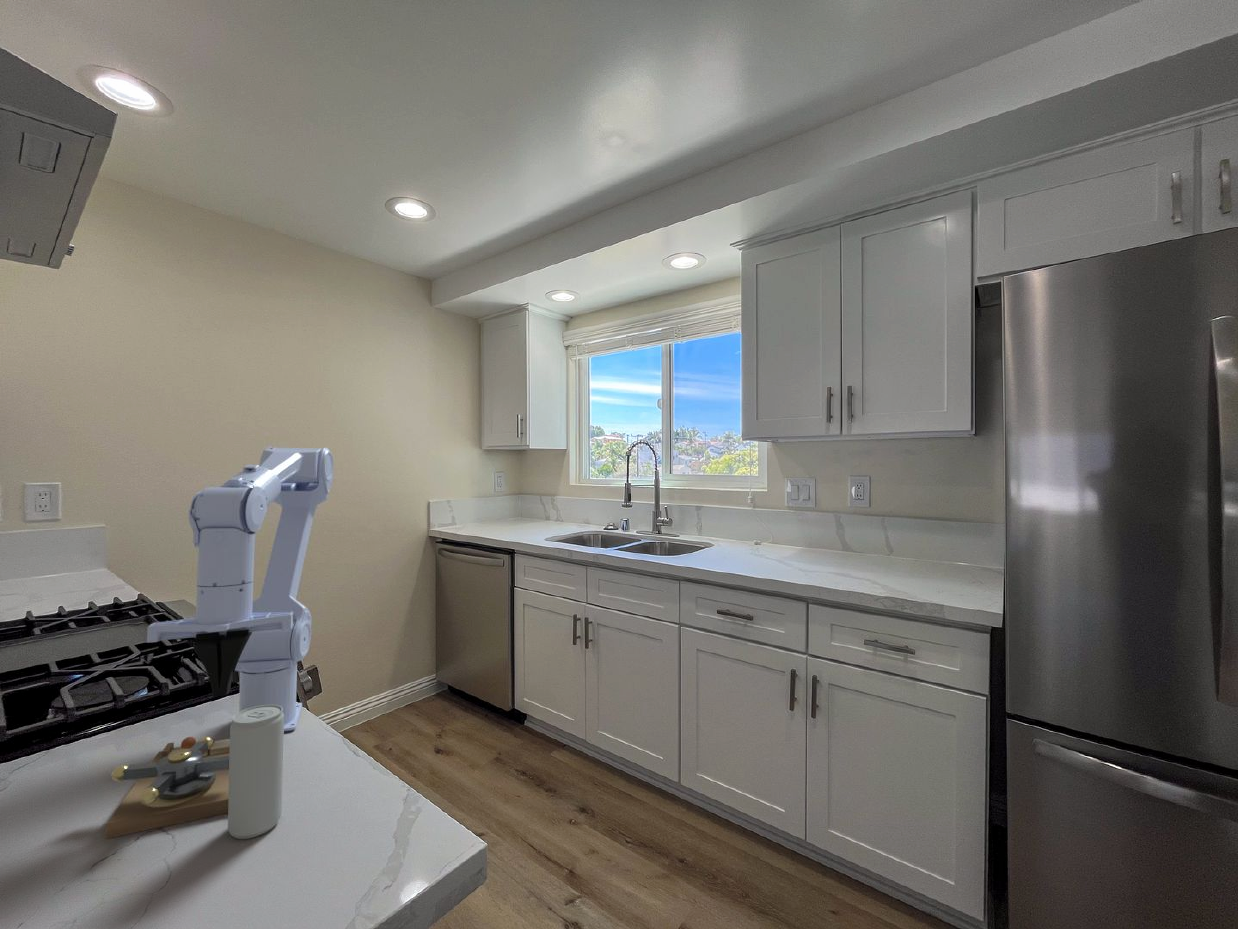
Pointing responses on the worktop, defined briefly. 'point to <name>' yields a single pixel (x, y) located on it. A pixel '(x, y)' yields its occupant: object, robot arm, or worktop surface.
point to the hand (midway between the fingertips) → (221, 693)
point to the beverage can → (255, 770)
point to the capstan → (176, 773)
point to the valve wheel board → (170, 812)
